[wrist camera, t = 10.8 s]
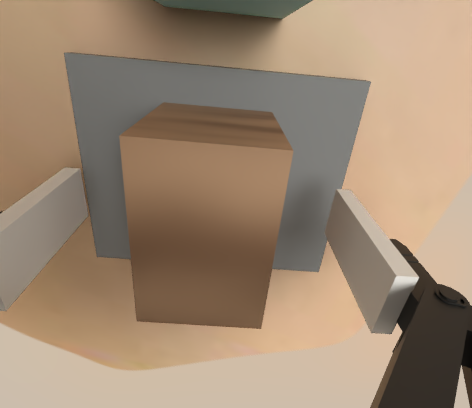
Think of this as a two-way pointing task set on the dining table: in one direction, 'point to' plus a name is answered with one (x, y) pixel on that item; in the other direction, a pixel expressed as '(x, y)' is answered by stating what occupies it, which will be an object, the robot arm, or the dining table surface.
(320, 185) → the mat
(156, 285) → the walnut brick
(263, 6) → the teal brick
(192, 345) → the dining table surface
